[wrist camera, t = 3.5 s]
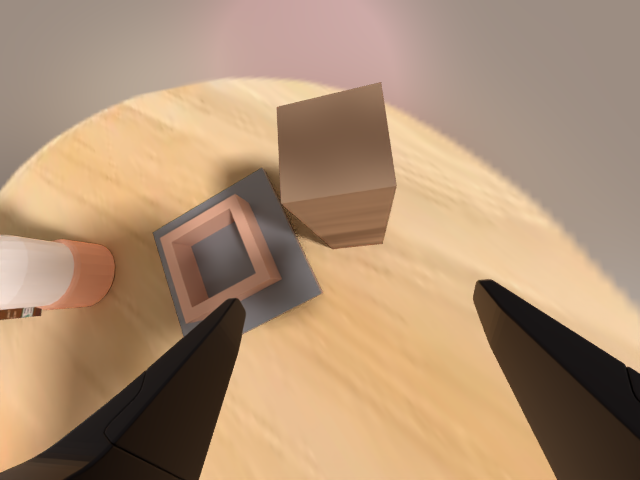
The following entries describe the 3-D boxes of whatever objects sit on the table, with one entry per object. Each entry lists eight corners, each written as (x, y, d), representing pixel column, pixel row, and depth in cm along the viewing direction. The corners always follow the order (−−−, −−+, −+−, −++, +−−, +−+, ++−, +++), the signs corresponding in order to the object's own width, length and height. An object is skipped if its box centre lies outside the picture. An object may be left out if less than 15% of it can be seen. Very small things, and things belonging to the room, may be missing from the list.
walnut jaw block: (382, 243, 21) (396, 185, 9) (333, 249, 22) (281, 203, 10) (376, 196, 22) (381, 82, 10) (328, 203, 23) (276, 106, 10)
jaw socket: (323, 293, 22) (314, 294, 18) (196, 357, 23) (168, 369, 20) (265, 171, 25) (249, 155, 22) (159, 234, 27) (130, 227, 23)
